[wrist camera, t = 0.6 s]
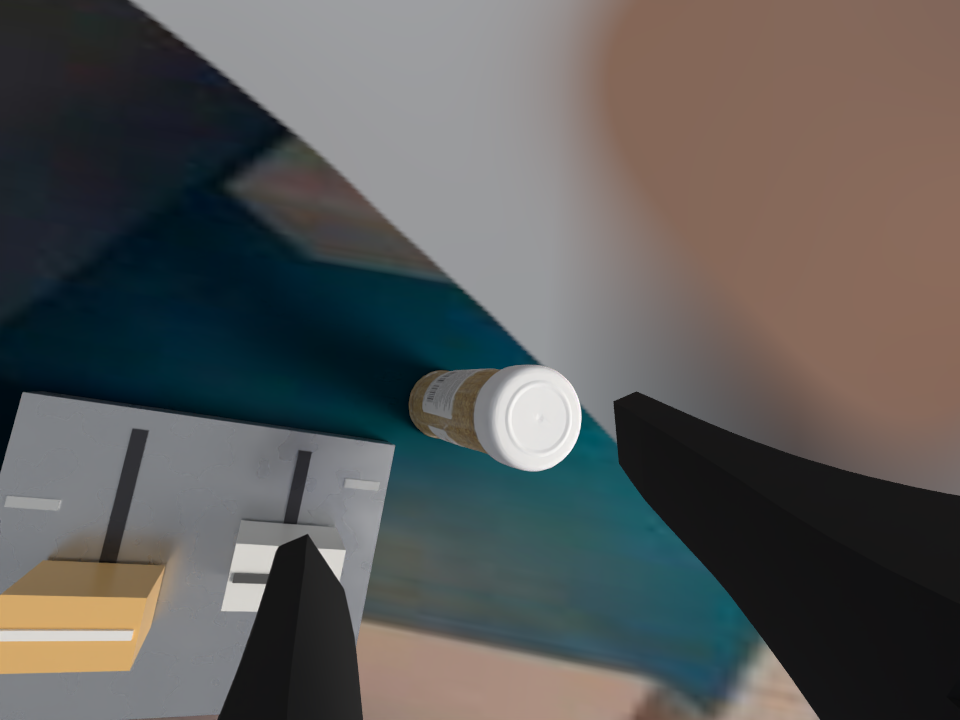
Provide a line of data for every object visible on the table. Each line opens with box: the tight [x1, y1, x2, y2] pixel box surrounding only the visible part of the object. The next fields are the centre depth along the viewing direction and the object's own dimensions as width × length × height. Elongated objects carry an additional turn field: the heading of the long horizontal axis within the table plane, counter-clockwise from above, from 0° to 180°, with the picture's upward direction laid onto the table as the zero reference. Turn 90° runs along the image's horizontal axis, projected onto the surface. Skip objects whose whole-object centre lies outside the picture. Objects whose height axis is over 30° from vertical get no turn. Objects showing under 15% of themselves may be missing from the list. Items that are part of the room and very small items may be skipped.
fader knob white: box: [221, 520, 346, 612], centre depth 25 cm, size 3×5×4 cm, turn 79°
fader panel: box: [0, 391, 395, 720], centre depth 27 cm, size 15×18×2 cm
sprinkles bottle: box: [409, 365, 581, 471], centre depth 27 cm, size 5×5×14 cm
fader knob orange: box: [0, 560, 165, 674], centre depth 22 cm, size 3×5×4 cm, turn 79°
